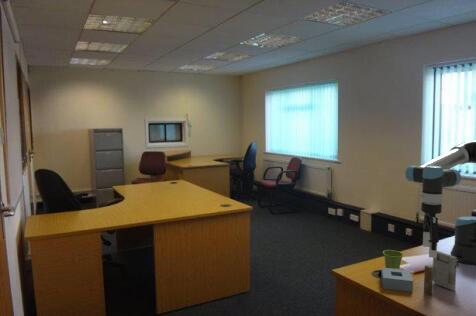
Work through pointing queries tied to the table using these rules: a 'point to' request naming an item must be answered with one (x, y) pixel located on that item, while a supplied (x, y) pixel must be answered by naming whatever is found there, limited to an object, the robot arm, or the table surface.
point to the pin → (428, 280)
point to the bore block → (396, 279)
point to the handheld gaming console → (445, 270)
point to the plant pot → (392, 259)
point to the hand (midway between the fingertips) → (429, 251)
